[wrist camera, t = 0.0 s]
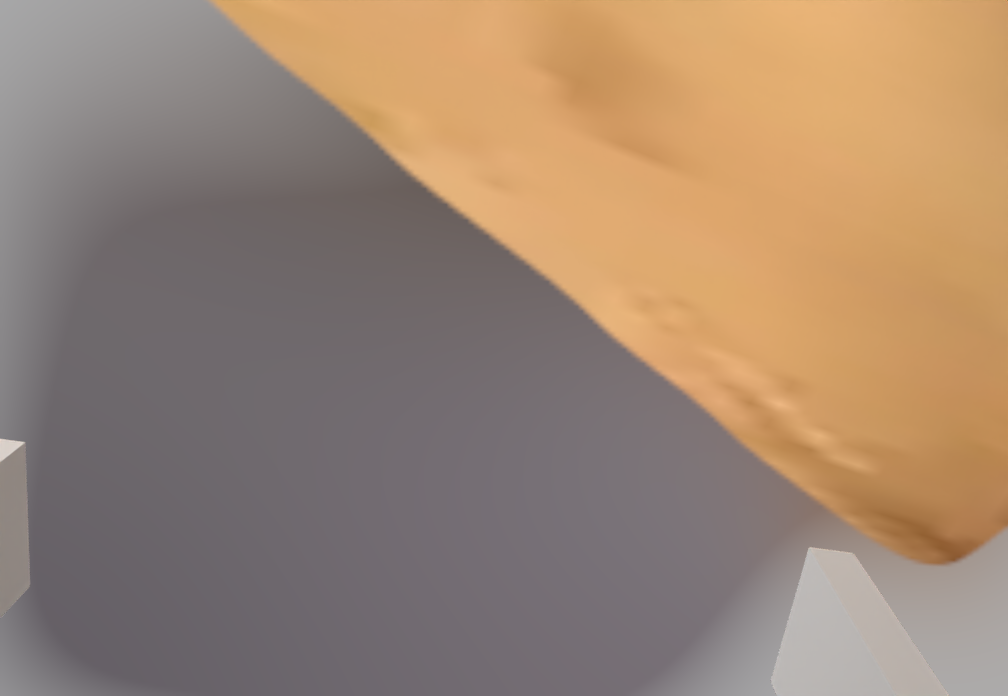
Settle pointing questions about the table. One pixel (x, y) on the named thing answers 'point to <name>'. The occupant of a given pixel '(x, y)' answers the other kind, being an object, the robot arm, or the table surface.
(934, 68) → the table surface
